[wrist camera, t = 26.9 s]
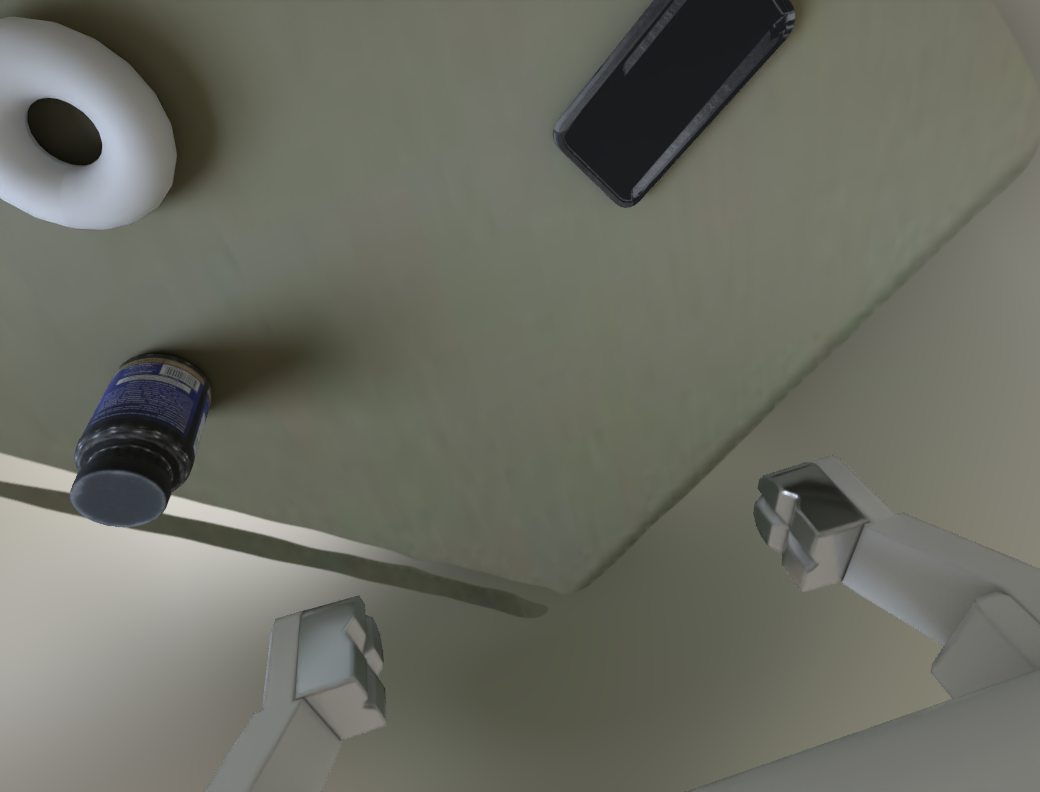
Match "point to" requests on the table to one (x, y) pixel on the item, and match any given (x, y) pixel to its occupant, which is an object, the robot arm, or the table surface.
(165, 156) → the donut
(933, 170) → the table surface
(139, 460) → the pill bottle
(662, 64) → the phone
